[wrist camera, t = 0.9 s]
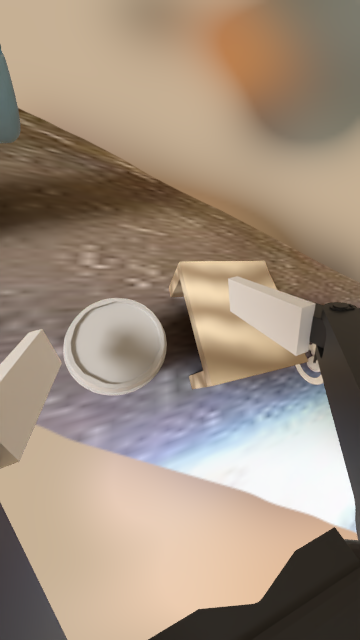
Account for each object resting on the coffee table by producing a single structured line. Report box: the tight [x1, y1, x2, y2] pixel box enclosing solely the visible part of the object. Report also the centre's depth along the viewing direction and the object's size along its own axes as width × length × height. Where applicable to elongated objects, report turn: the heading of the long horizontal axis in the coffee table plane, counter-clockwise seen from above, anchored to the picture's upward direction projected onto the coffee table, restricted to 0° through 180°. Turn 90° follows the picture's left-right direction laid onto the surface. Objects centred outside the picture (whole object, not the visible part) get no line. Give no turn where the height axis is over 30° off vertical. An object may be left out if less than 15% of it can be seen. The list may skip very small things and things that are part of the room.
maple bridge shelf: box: [169, 261, 308, 389], centre depth 32 cm, size 18×16×8 cm
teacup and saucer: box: [295, 343, 324, 385], centre depth 36 cm, size 9×8×4 cm
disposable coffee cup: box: [63, 298, 167, 395], centre depth 23 cm, size 10×10×12 cm
